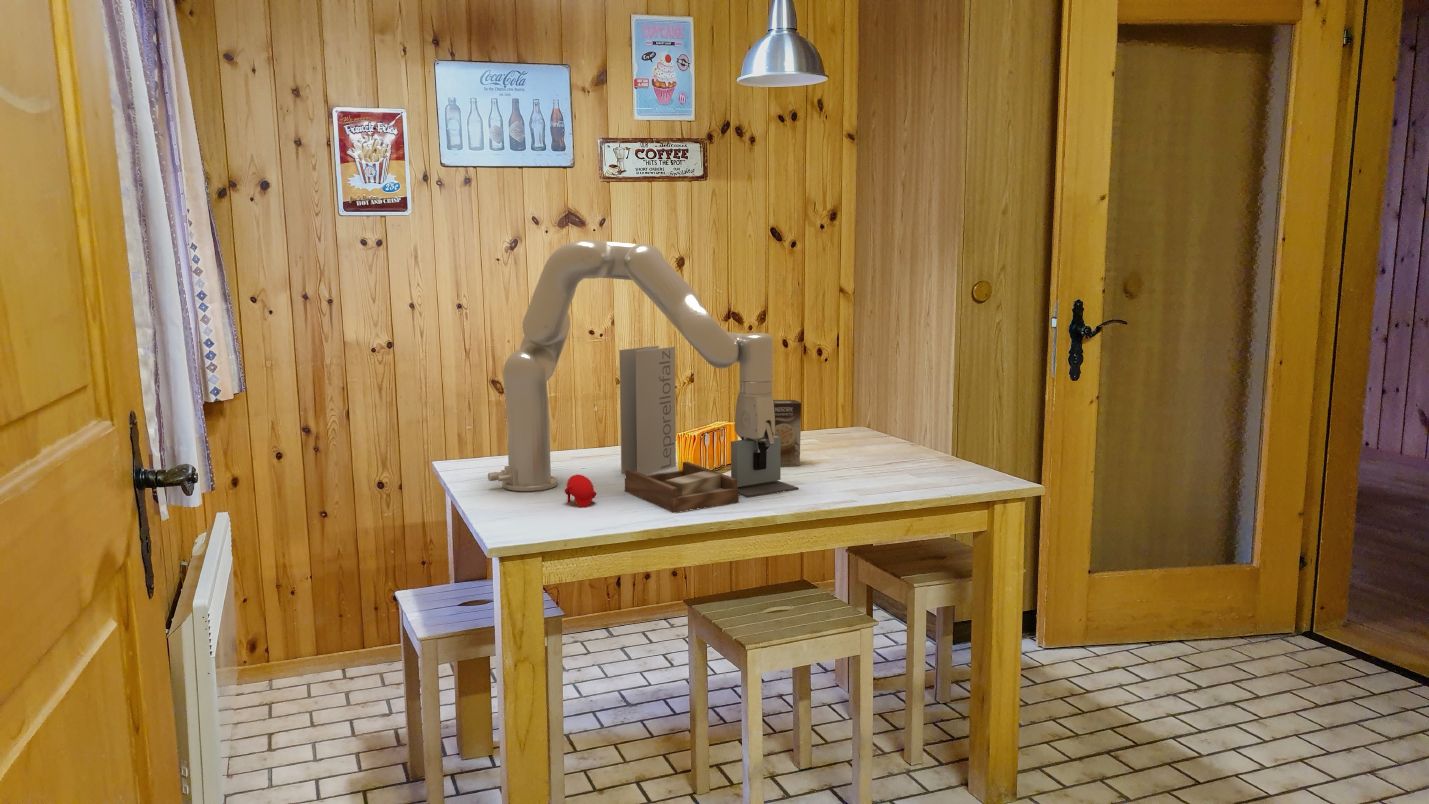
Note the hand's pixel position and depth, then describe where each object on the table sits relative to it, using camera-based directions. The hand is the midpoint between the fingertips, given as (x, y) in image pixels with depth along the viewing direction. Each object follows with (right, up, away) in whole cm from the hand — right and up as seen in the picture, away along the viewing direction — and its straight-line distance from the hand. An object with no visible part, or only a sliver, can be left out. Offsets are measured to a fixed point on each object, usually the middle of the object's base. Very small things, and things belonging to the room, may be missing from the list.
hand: (755, 467), depth 234 cm
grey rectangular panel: (0, -3, +1) cm, 3 cm away
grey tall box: (-25, -2, +19) cm, 32 cm away
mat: (0, -5, +1) cm, 5 cm away
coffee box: (+7, -1, +25) cm, 26 cm away
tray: (-17, -6, -8) cm, 20 cm away
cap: (-38, -7, -13) cm, 41 cm away
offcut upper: (-14, -4, -13) cm, 20 cm away
